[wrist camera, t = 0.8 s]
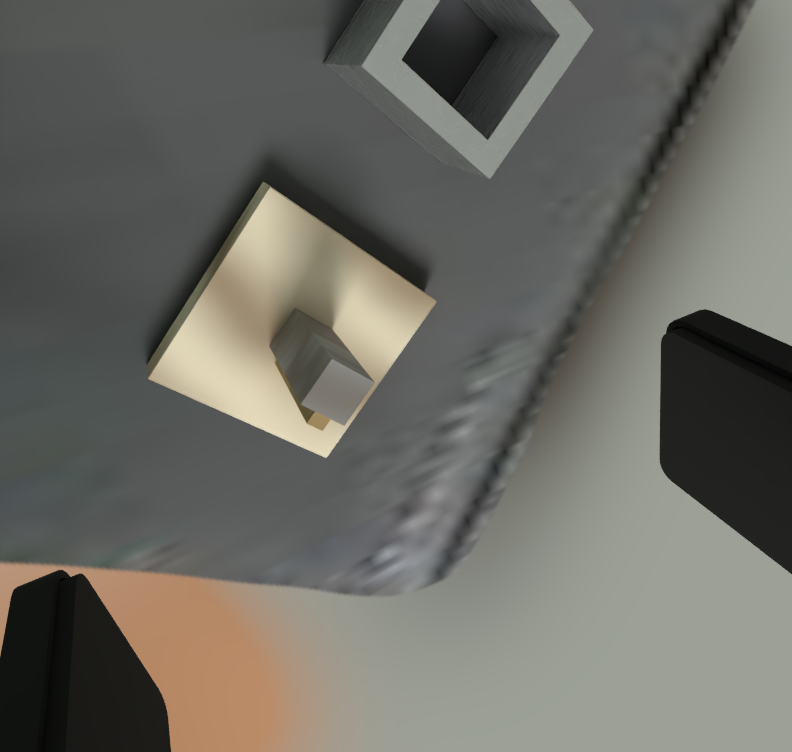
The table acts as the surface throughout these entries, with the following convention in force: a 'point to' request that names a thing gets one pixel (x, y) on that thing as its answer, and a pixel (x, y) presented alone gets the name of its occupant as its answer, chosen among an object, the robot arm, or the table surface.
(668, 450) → the robot arm
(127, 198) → the table surface
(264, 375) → the post block
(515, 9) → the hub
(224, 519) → the table surface
